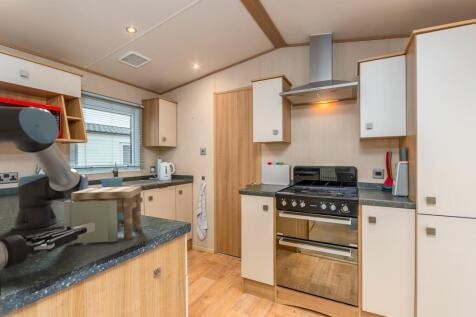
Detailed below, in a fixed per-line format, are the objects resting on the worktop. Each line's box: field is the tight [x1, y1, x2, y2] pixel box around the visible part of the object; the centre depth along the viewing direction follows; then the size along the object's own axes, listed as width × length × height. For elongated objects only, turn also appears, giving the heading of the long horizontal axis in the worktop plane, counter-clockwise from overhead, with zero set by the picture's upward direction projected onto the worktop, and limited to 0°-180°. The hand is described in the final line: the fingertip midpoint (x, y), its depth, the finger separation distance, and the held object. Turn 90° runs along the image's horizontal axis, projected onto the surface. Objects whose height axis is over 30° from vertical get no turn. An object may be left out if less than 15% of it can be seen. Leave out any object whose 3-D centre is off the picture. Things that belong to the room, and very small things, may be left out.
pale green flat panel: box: [63, 200, 119, 246], centre depth 82 cm, size 17×3×15 cm, turn 96°
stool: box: [71, 185, 143, 241], centre depth 91 cm, size 20×14×18 cm
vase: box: [99, 177, 124, 222], centre depth 114 cm, size 8×8×20 cm
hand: (93, 226), depth 78 cm, fingers closed
